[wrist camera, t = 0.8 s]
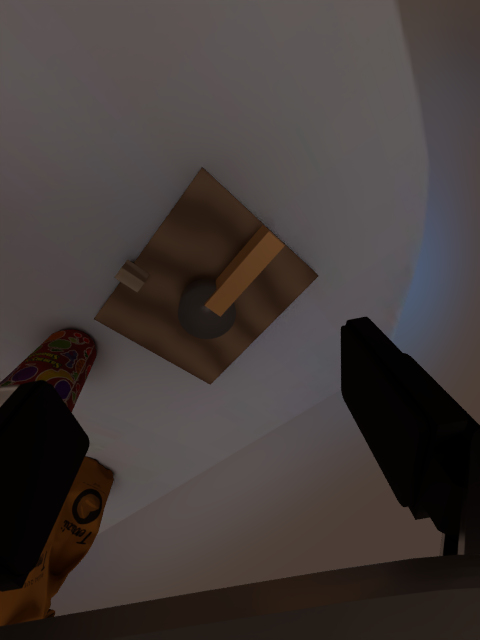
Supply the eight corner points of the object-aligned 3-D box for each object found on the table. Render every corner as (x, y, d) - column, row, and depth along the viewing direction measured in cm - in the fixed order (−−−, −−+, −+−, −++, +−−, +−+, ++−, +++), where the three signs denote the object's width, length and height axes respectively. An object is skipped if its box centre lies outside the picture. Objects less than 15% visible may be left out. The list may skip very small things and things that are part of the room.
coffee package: (123, 474, 58) (83, 627, 39) (78, 498, 60) (19, 654, 41) (85, 449, 53) (19, 610, 34) (38, 476, 56) (-49, 641, 36)
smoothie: (82, 312, 40) (-12, 427, 23) (115, 356, 44) (57, 482, 27) (31, 333, 41) (-99, 460, 23) (68, 374, 45) (-19, 508, 27)
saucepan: (211, 335, 39) (212, 350, 36) (168, 308, 37) (165, 321, 33) (290, 250, 35) (299, 258, 31) (248, 210, 32) (253, 216, 29)
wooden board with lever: (210, 376, 48) (210, 397, 44) (93, 309, 40) (79, 327, 36) (313, 271, 41) (326, 284, 36) (196, 162, 33) (195, 162, 28)
